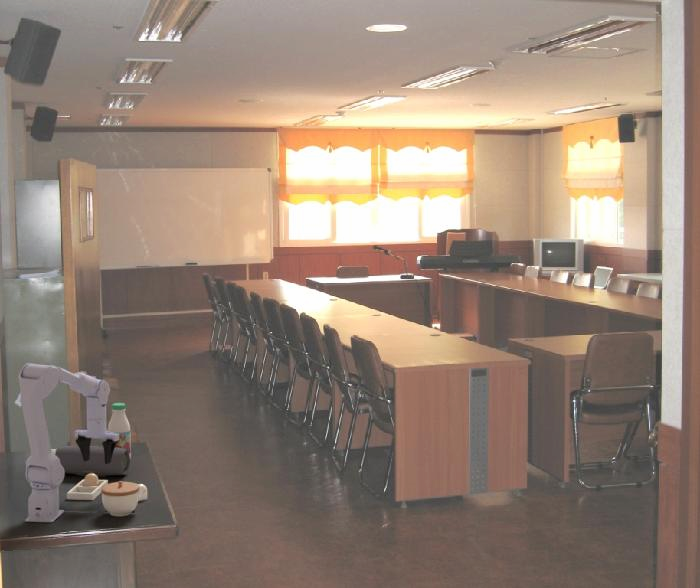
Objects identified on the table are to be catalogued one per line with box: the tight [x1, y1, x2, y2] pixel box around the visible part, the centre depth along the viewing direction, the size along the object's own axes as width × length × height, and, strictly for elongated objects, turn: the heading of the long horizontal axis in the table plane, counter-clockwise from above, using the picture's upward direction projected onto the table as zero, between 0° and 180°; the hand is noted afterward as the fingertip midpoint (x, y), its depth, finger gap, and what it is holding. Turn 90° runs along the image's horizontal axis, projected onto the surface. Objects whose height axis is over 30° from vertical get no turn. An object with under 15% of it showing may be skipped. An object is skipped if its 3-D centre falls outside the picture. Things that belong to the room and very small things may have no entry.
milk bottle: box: [107, 402, 132, 460], centre depth 335 cm, size 8×8×20 cm
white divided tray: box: [66, 478, 109, 501], centre depth 299 cm, size 14×8×2 cm, turn 176°
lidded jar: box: [101, 480, 139, 517], centre depth 281 cm, size 11×11×9 cm
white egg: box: [137, 483, 148, 502], centre depth 293 cm, size 4×4×5 cm
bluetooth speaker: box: [54, 445, 131, 477], centre depth 317 cm, size 23×9×10 cm, turn 84°
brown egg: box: [84, 473, 99, 486], centre depth 302 cm, size 4×4×5 cm
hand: (97, 461), depth 298 cm, fingers open, 7 cm apart
